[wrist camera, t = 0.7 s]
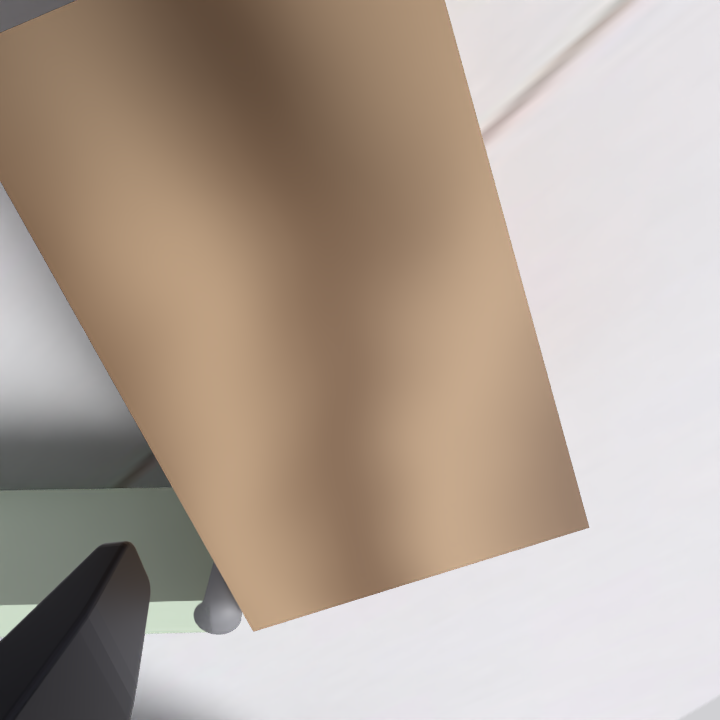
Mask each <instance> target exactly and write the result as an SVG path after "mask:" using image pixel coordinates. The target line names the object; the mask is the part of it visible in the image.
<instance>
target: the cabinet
mask: <svg viewBox="0 0 720 720" xmlns="http://www.w3.org/2000/svg"><path fill="white" fill-rule="evenodd" d="M0 181H1V183H2V185H3V187H4V189H5V190H6V192H7V194H8V196H9V197H10V199H11V201H12V203H13V205H14V206H15V208H16V210H17V212H18V214H19V215H20V217H21V219H22V221H23V222H24V224H25V226H26V228H27V230H28V231H29V233H30V235H31V237H32V238H33V240H34V242H35V244H36V246H37V247H38V249H39V251H40V253H41V254H42V256H43V258H44V260H45V262H46V263H47V265H48V267H49V269H50V270H51V272H52V274H53V276H54V278H55V279H56V281H57V283H58V285H59V286H60V288H61V290H62V292H63V294H64V295H65V297H66V299H67V301H68V303H69V304H70V306H71V308H72V310H73V311H74V313H75V315H76V317H77V319H78V320H79V322H80V324H81V326H82V327H83V329H84V331H85V333H86V335H87V336H88V338H89V340H90V342H91V343H92V345H93V347H94V349H95V351H96V352H97V354H98V356H99V358H100V359H101V361H102V363H103V365H104V367H105V368H106V370H107V372H108V374H109V376H110V377H111V379H112V381H113V383H114V384H115V386H116V388H117V390H118V392H119V393H120V395H121V397H122V399H123V400H124V402H125V404H126V406H127V408H128V409H129V411H130V413H131V415H132V416H133V418H134V420H135V422H136V424H137V425H138V427H139V429H140V431H141V432H142V434H143V436H144V438H145V440H146V441H147V443H148V445H149V447H150V449H151V450H152V452H153V454H154V456H155V457H156V459H157V461H158V463H159V465H160V466H161V468H162V470H163V472H164V473H165V475H166V477H167V479H168V481H169V482H170V484H171V486H172V488H173V489H174V491H175V493H176V495H177V497H178V498H179V500H180V502H181V504H182V505H183V507H184V509H185V511H186V513H187V514H188V516H189V518H190V520H191V521H192V523H193V525H194V527H195V529H196V530H197V532H198V534H199V536H200V538H201V539H202V541H203V543H204V545H205V546H206V548H207V550H208V552H209V554H210V555H211V557H212V559H213V561H214V562H215V564H216V566H217V568H218V570H219V571H220V573H221V575H222V577H223V578H224V580H225V582H226V584H227V586H228V587H229V589H230V591H231V593H232V594H233V596H234V598H235V600H236V602H237V603H238V605H239V607H240V609H241V611H242V612H243V614H244V616H245V618H246V619H247V621H248V623H249V625H250V627H251V628H252V630H253V632H254V631H257V630H260V629H263V628H267V627H270V626H273V625H276V624H280V623H283V622H286V621H289V620H292V619H296V618H299V617H302V616H305V615H309V614H312V613H315V612H318V611H322V610H325V609H328V608H331V607H334V606H338V605H341V604H344V603H347V602H351V601H354V600H357V599H360V598H364V597H367V596H370V595H373V594H376V593H380V592H383V591H386V590H389V589H393V588H396V587H399V586H402V585H405V584H409V583H412V582H415V581H418V580H422V579H425V578H428V577H431V576H435V575H438V574H441V573H444V572H447V571H451V570H454V569H457V568H460V567H464V566H467V565H470V564H473V563H477V562H480V561H483V560H486V559H489V558H493V557H496V556H499V555H502V554H506V553H509V552H512V551H515V550H519V549H522V548H525V547H528V546H531V545H535V544H538V543H541V542H544V541H548V540H551V539H554V538H557V537H560V536H564V535H567V534H570V533H573V532H577V531H580V530H583V529H586V528H589V525H588V521H587V517H586V514H585V510H584V507H583V503H582V499H581V496H580V492H579V488H578V485H577V481H576V477H575V474H574V470H573V466H572V463H571V459H570V456H569V452H568V448H567V445H566V441H565V437H564V434H563V430H562V426H561V423H560V419H559V415H558V412H557V408H556V405H555V401H554V397H553V394H552V390H551V386H550V383H549V379H548V375H547V372H546V368H545V364H544V361H543V357H542V353H541V350H540V346H539V343H538V339H537V335H536V332H535V328H534V324H533V321H532V317H531V313H530V310H529V306H528V302H527V299H526V295H525V292H524V288H523V284H522V281H521V277H520V273H519V270H518V266H517V262H516V259H515V255H514V251H513V248H512V244H511V241H510V237H509V233H508V230H507V226H506V222H505V219H504V215H503V211H502V208H501V204H500V200H499V197H498V193H497V189H496V186H495V182H494V179H493V175H492V171H491V168H490V164H489V160H488V157H487V153H486V149H485V146H484V142H483V138H482V135H481V131H480V128H479V124H478V120H477V117H476V113H475V109H474V106H473V102H472V98H471V95H470V91H469V87H468V84H467V80H466V77H465V73H464V69H463V66H462V62H461V58H460V55H459V51H458V47H457V44H456V40H455V36H454V33H453V29H452V25H451V22H450V18H449V15H448V11H447V7H446V4H445V0H76V1H74V2H71V3H69V4H67V5H64V6H62V7H60V8H57V9H55V10H53V11H50V12H48V13H45V14H43V15H41V16H38V17H36V18H34V19H31V20H29V21H27V22H24V23H22V24H20V25H17V26H15V27H13V28H10V29H8V30H6V31H3V32H1V33H0Z"/></svg>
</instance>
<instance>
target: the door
mask: <svg viewBox="0 0 720 720" xmlns="http://www.w3.org/2000/svg"><path fill="white" fill-rule="evenodd" d="M121 541H128V542H131V543H132V544H133V545H134V546H135V548H136V550H137V553H138V555H139V557H140V559H141V562H142V564H143V566H144V569H145V571H146V573H147V576H148V578H149V581H150V588H151V595H150V602H149V609H148V616H147V622H146V629H145V634H153V633H194V632H208V633H211V634H226V633H229V632H231V631H233V630H234V629H236V628H237V627H238V625H239V624H240V621H241V617H242V611H241V609H240V607H239V605H238V603H237V602H236V600H235V598H234V596H233V594H232V593H231V591H230V589H229V587H228V586H227V584H226V582H225V580H224V578H223V577H222V575H221V573H220V571H219V570H218V568H217V566H216V564H215V562H214V561H213V559H212V557H211V555H210V554H209V552H208V550H207V548H206V546H205V545H204V543H203V541H202V539H201V538H200V536H199V534H198V532H197V530H196V529H195V527H194V525H193V523H192V521H191V520H190V518H189V516H188V514H187V513H186V511H185V509H184V507H183V505H182V504H181V502H180V500H179V498H178V497H177V495H176V493H175V491H174V489H173V488H172V487H164V488H107V489H50V490H0V637H5V636H6V635H7V634H8V633H9V632H10V631H11V630H12V629H13V628H14V627H15V626H16V625H17V624H18V623H19V622H20V621H21V620H22V619H24V618H25V617H26V616H27V615H28V614H29V613H30V612H31V611H32V610H33V609H34V608H35V607H36V606H37V605H38V604H39V603H40V602H41V601H42V600H43V599H44V598H45V597H46V596H47V595H48V594H49V593H50V592H51V591H52V590H53V589H55V588H56V587H57V586H58V585H59V584H60V583H61V582H62V581H63V580H64V579H65V578H66V577H67V576H68V575H69V574H70V573H71V572H72V571H73V570H74V569H75V568H76V567H77V566H78V565H79V564H80V563H81V562H82V561H83V560H84V559H86V558H87V557H88V556H89V555H90V554H91V553H92V552H93V551H94V550H95V549H96V548H97V547H98V546H100V545H101V544H104V543H111V542H121Z"/></svg>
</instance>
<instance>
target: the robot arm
mask: <svg viewBox="0 0 720 720" xmlns="http://www.w3.org/2000/svg"><path fill="white" fill-rule="evenodd" d="M150 595H151V588H150V581H149V578H148V576H147V573H146V571H145V569H144V566H143V564H142V562H141V559H140V557H139V555H138V553H137V550H136V548H135V546H134V545H133V544H132V543H131V542H128V541H121V542H111V543H104V544H101V545H100V546H98V547H97V548H96V549H95V550H94V551H93V552H92V553H91V554H90V555H89V556H88V557H87V558H86V559H84V560H83V561H82V562H81V563H80V564H79V565H78V566H77V567H76V568H75V569H74V570H73V571H72V572H71V573H70V574H69V575H68V576H67V577H66V578H65V579H64V580H63V581H62V582H61V583H60V584H59V585H58V586H57V587H56V588H55V589H53V590H52V591H51V592H50V593H49V594H48V595H47V596H46V597H45V598H44V599H43V600H42V601H41V602H40V603H39V604H38V605H37V606H36V607H35V608H34V609H33V610H32V611H31V612H30V613H29V614H28V615H27V616H26V617H25V618H24V619H22V620H21V621H20V622H19V623H18V624H17V625H16V626H15V627H14V628H13V629H12V630H11V631H10V632H9V633H8V634H7V635H6V636H5V637H4V638H3V639H2V640H1V641H0V720H130V718H131V713H132V709H133V705H134V700H135V694H136V689H137V682H138V676H139V669H140V662H141V656H142V649H143V642H144V636H145V629H146V622H147V616H148V609H149V602H150Z"/></svg>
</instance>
